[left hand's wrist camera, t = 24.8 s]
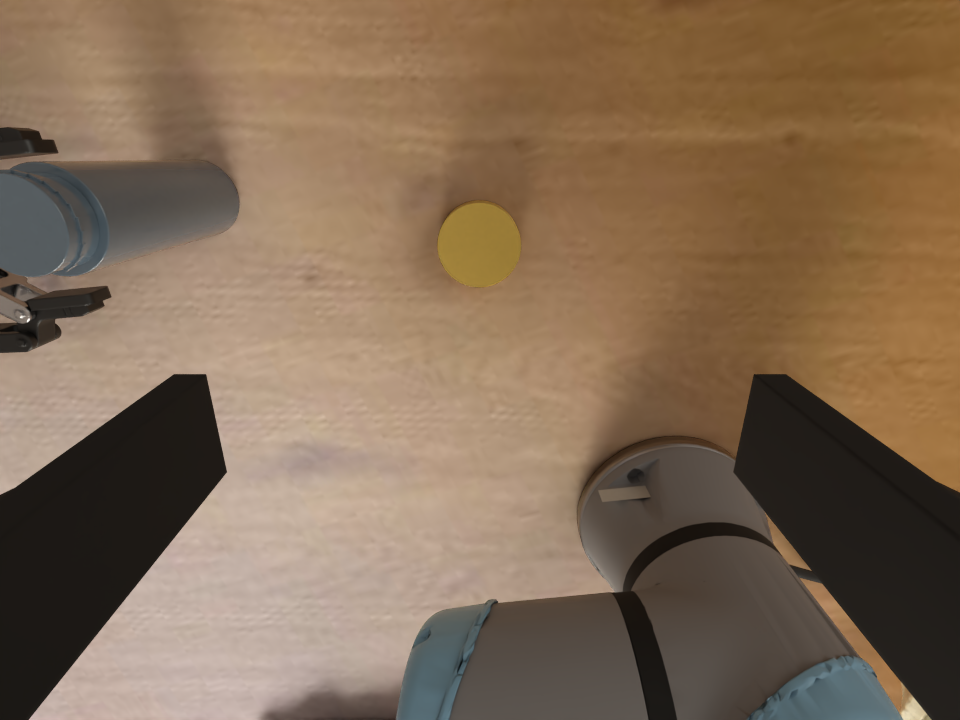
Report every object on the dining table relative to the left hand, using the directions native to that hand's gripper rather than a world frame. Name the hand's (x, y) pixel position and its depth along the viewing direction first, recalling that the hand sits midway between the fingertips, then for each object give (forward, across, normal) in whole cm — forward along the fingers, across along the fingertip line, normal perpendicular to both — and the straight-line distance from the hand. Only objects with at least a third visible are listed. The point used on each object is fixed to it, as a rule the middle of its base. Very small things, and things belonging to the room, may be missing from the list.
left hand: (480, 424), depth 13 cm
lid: (+24, 0, 0) cm, 24 cm away
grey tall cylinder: (+26, +19, -3) cm, 33 cm away
